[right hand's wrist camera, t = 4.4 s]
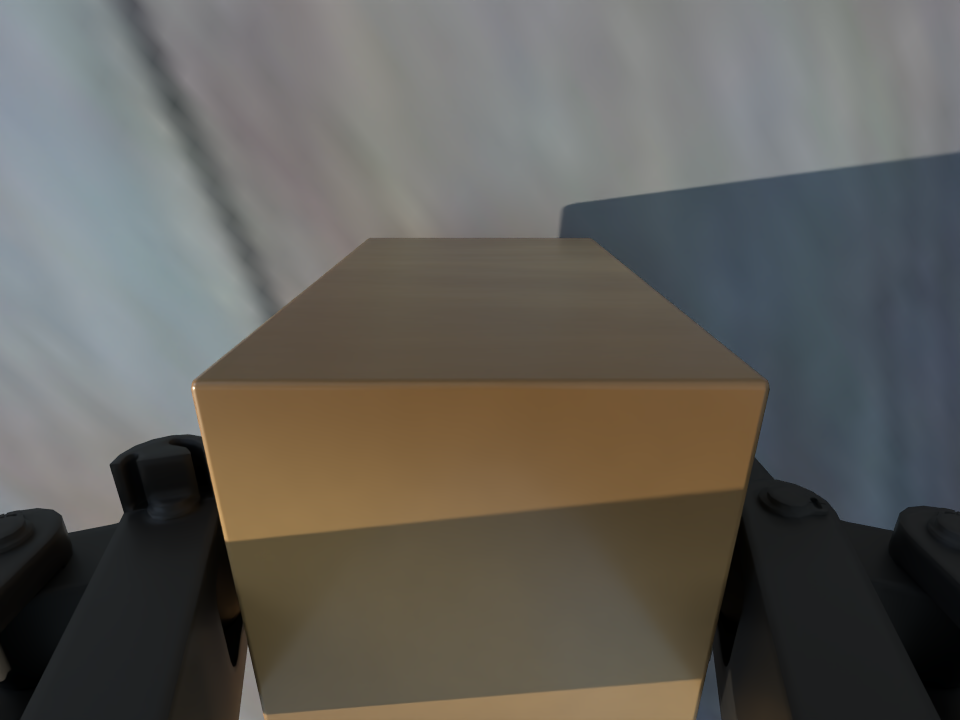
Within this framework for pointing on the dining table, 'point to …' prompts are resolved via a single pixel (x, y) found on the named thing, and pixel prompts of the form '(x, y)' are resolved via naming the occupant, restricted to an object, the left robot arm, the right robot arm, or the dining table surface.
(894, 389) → the dining table surface
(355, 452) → the bar
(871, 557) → the right robot arm
